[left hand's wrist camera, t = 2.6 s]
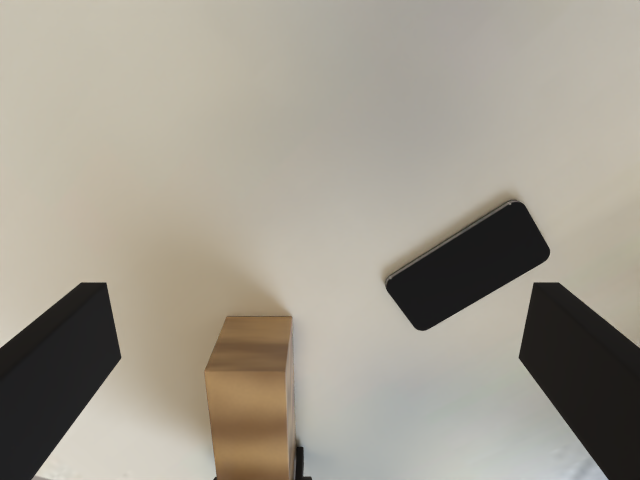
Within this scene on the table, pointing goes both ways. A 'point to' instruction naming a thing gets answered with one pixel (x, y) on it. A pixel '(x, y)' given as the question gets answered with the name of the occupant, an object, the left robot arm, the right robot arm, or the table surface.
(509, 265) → the smartphone
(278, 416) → the box
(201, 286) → the table surface
